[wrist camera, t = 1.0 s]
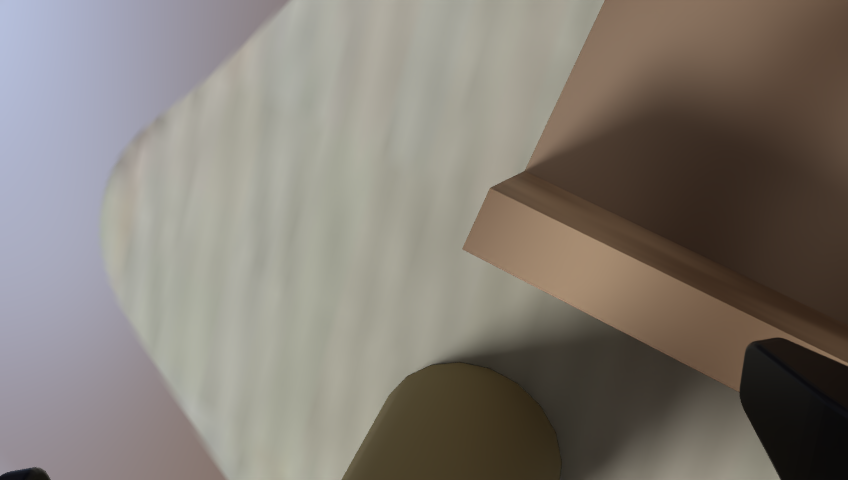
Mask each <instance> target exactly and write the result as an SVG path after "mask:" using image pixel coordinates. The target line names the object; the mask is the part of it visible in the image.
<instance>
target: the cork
mask: <svg viewBox="0 0 848 480" xmlns="http://www.w3.org/2000/svg"><path fill="white" fill-rule="evenodd" d="M561 466H562V461H561V456H560V451H559V446H558V441H557V437H556V433H555V431H554V429H553V428H552V426H551V424H550V422H549V420H548V419H547V417H546V415H545V413H544V412H543V410H542V408H541V406H540V405H539V404H538V403H537V402H536V401H535V400H534V399H533V398H532V397H531V396H530V395H529V394H528V393H527V392H525V391H524V390H523V389H522V388H521V387H520V386H519V385H518V384H517V383H515V382H514V381H512V380H510V379H508V378H506V377H504V376H502V375H500V374H499V373H497V372H495V371H493V370H491V369H489V368H485V367H480V366H475V365H470V364H466V363H461V362H457V363H447V364H437V365H430V366H428V367H426V368H424V369H422V370H420V371H418V372H416V373H413V374H411V375H409V376H407V377H406V378H405V379H404V380H403V381H402V382H401V383H400V384H399V385H398V386H397V387H396V388H395V389H394V390H393V392H392V393H391V394H390V395H389V396H388V398H387V400H386V402H385V403H384V405H383V407H382V409H381V411H380V412H379V414H378V416H377V418H376V419H375V421H374V423H373V425H372V427H371V428H370V430H369V432H368V434H367V435H366V437H365V439H364V441H363V443H362V444H361V446H360V448H359V450H358V451H357V453H356V455H355V457H354V459H353V460H352V462H351V464H350V466H349V467H348V469H347V471H346V473H345V475H344V476H343V478H342V480H560V473H561Z"/></svg>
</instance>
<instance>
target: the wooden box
mask: <svg viewBox="0 0 848 480" xmlns="http://www.w3.org/2000/svg"><path fill="white" fill-rule="evenodd" d="M462 249H463V250H465V251H467V252H469V253H471V254H473V255H475V256H477V257H479V258H481V259H482V260H484V261H486V262H488V263H490V264H492V265H494V266H496V267H498V268H500V269H502V270H504V271H506V272H508V273H510V274H511V275H513V276H515V277H517V278H519V279H521V280H523V281H525V282H527V283H529V284H531V285H533V286H535V287H537V288H539V289H541V290H542V291H544V292H546V293H548V294H550V295H552V296H554V297H556V298H558V299H560V300H562V301H564V302H566V303H568V304H570V305H571V306H573V307H575V308H577V309H579V310H581V311H583V312H585V313H587V314H589V315H591V316H593V317H595V318H597V319H599V320H601V321H602V322H604V323H606V324H608V325H610V326H612V327H614V328H616V329H618V330H620V331H622V332H624V333H626V334H628V335H630V336H631V337H633V338H635V339H637V340H639V341H641V342H643V343H645V344H647V345H649V346H651V347H653V348H655V349H657V350H659V351H661V352H662V353H664V354H666V355H668V356H670V357H672V358H674V359H676V360H678V361H680V362H682V363H684V364H686V365H688V366H690V367H691V368H693V369H695V370H697V371H699V372H701V373H703V374H705V375H707V376H709V377H711V378H713V379H715V380H717V381H719V382H721V383H722V384H724V385H726V386H728V387H730V388H732V389H734V390H736V391H738V392H739V390H740V382H741V375H742V368H743V361H744V355H745V350H746V347H747V346H748V345H749V343H751V342H753V341H758V340H764V339H770V338H777V337H780V338H784V339H787V340H789V341H792V342H794V343H796V344H799V345H801V346H803V347H805V348H808V349H810V350H812V351H815V352H817V353H819V354H821V355H824V356H826V357H828V358H831V359H833V360H835V361H837V362H840V363H842V364H844V365H847V366H848V0H605V1H604V3H603V5H602V7H601V10H600V12H599V14H598V16H597V18H596V20H595V22H594V24H593V27H592V29H591V31H590V33H589V35H588V37H587V39H586V41H585V44H584V46H583V48H582V50H581V52H580V54H579V56H578V59H577V61H576V63H575V65H574V67H573V69H572V71H571V73H570V76H569V78H568V80H567V82H566V84H565V86H564V88H563V90H562V93H561V95H560V97H559V99H558V101H557V103H556V105H555V107H554V110H553V112H552V114H551V116H550V118H549V120H548V122H547V124H546V127H545V129H544V131H543V133H542V135H541V137H540V139H539V141H538V144H537V146H536V148H535V150H534V152H533V154H532V156H531V158H530V161H529V163H528V165H527V167H526V169H525V171H524V172H522V173H520V174H518V175H516V176H513V177H511V178H509V179H507V180H505V181H503V182H501V183H499V184H497V185H495V186H493V187H491V188H490V189H489V191H488V194H487V196H486V198H485V200H484V202H483V205H482V207H481V209H480V211H479V213H478V216H477V218H476V220H475V222H474V224H473V227H472V229H471V231H470V233H469V235H468V237H467V240H466V242H465V244H464V246H463V248H462Z"/></svg>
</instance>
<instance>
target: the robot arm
mask: <svg viewBox="0 0 848 480" xmlns="http://www.w3.org/2000/svg"><path fill="white" fill-rule="evenodd" d="M739 393H740V400H741V403H742V406H743V409H744V411H745V413H746V415H747V416H748V418H749V420H750V422H751V424H752V426H753V428H754V430H755V432H756V434H757V435H758V437H759V439H760V441H761V443H762V445H763V447H764V449H765V451H766V453H767V455H768V456H769V458H770V460H771V462H772V464H773V466H774V468H775V470H776V472H777V474H778V475H779V477H780V479H781V480H848V366H847V365H844V364H842V363H840V362H837V361H835V360H833V359H831V358H828V357H826V356H824V355H821V354H819V353H817V352H815V351H812V350H810V349H808V348H805V347H803V346H801V345H799V344H796V343H794V342H792V341H789V340H787V339H784V338H780V337H777V338H770V339H764V340H758V341H753V342H751V343H749V345H748V346H747V347H746V350H745V355H744V361H743V368H742V375H741V382H740V390H739ZM0 480H50V478H49V476H48V474H47V473H46V471H44V470H43V469H41V468H36V467H33V468H28V469H22V470H16V471H10V472H7V473H5V474H3V475H1V476H0Z"/></svg>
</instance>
